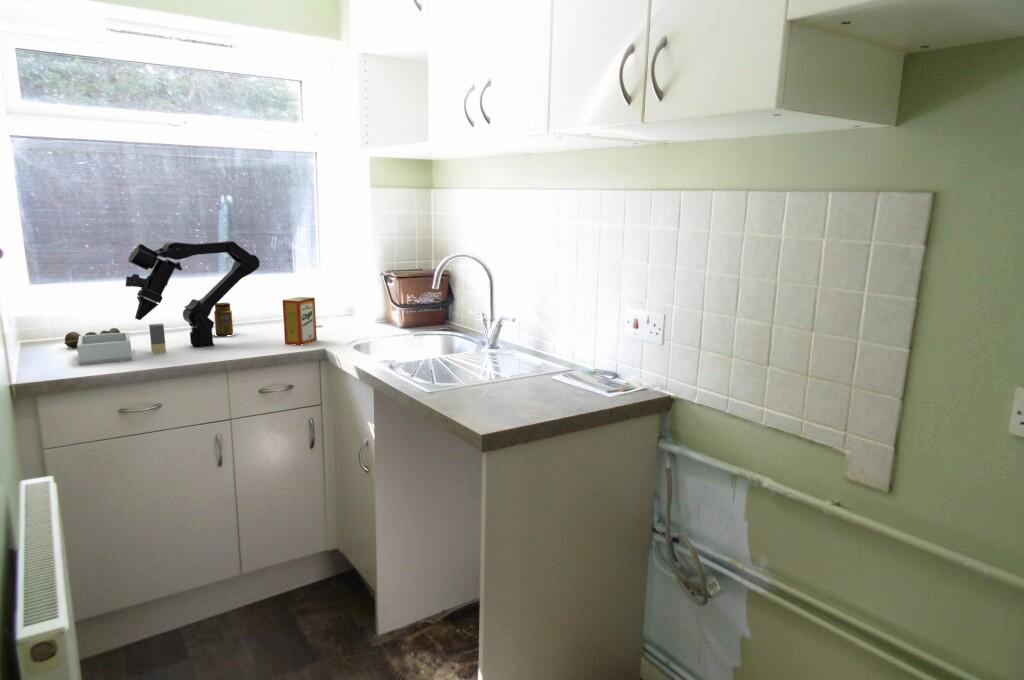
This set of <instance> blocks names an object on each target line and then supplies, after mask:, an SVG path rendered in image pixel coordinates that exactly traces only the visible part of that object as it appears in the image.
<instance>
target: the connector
mask: <svg viewBox="0 0 1024 680" xmlns="http://www.w3.org/2000/svg"><path fill="white" fill-rule="evenodd" d="M148 326H149V327H148V328H149V337H150V348H151V353H153V354H161V352H164V353H167V348H166V339H165V326H164V323H155V324H149V325H148Z"/></svg>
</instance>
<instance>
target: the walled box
mask: <svg viewBox="0 0 1024 680" xmlns="http://www.w3.org/2000/svg"><path fill="white" fill-rule="evenodd" d="M96 334H97V333H96ZM130 337H131V336H130V333H129V332H127V331H125V332H120V333H111V334H100V333H98V334H97V335H85V334H84V335H81V336H79V339H78V344H77V347H76V349H77V354H78V363H79V366H83V365H84V364H86V365H94V364H96V363H97V364H105V363H107V364H108V363H115V362H116V363H117V362H127V361H133V353H132V345H131V344H132V343H131V338H130ZM84 366H85V365H84Z"/></svg>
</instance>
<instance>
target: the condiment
mask: <svg viewBox="0 0 1024 680" xmlns="http://www.w3.org/2000/svg"><path fill="white" fill-rule="evenodd" d="M214 306H215V307H214V309H215V310H214V311H213V313H214V327H215V328H214V329H215V333H216V335H217V336H227V335H232V334H233V333H234V328H233V313H232V310H231V304H230V303H229V302H217V303H216V304H215V305H214ZM212 336H213V338H218V337H217V336H215V335H214V334H212Z"/></svg>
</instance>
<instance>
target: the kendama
mask: <svg viewBox="0 0 1024 680" xmlns="http://www.w3.org/2000/svg"><path fill="white" fill-rule="evenodd" d="M111 333H121V331H120V330H119V329H118V328H117V327H112V328H110V329H109V330H102V331H100V333H99V334H111ZM84 335H97V333H96V332H94V331H89V332H87V333H85V334H84ZM79 336H82V335H81V334H80V333H78V332H77V331H70V332H68V333H67V334H66V335H65V337H64V343H63V344H64V345H66V347H68V348H70V347H74V348H77V344H78V339H79Z"/></svg>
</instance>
